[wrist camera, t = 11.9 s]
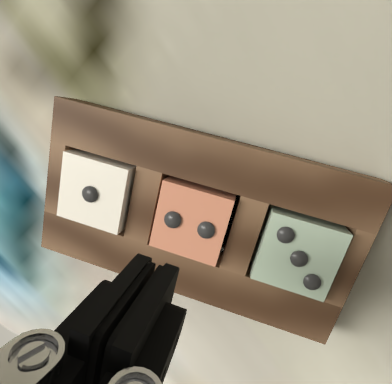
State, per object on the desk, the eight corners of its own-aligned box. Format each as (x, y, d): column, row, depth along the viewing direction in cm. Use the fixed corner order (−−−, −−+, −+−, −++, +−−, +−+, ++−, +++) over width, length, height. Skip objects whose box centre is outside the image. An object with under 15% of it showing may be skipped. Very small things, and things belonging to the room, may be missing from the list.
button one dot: (87, 147, 22) (61, 151, 19) (144, 163, 22) (127, 170, 19) (80, 204, 24) (55, 216, 21) (133, 221, 23) (116, 235, 20)
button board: (76, 98, 22) (54, 96, 19) (380, 178, 19) (399, 187, 16) (61, 234, 25) (41, 246, 23) (317, 320, 22) (325, 344, 20)
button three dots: (270, 199, 20) (273, 213, 17) (338, 219, 20) (354, 236, 17) (250, 258, 22) (250, 279, 19) (314, 278, 21) (324, 303, 18)
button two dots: (174, 172, 21) (161, 180, 18) (237, 190, 21) (234, 201, 18) (161, 230, 23) (148, 246, 20) (220, 248, 22) (215, 268, 19)
